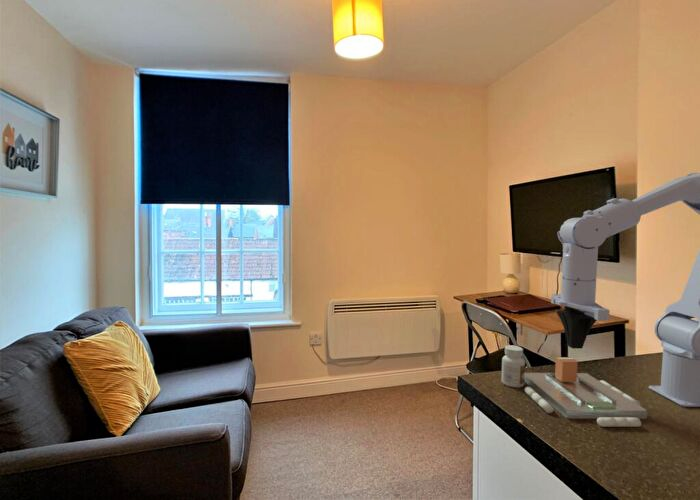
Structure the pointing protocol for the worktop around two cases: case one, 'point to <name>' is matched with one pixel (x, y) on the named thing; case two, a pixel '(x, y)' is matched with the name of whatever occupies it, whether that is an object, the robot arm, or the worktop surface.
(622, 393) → the cable near base
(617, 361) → the worktop surface
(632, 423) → the rod
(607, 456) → the worktop surface
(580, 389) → the breaker panel
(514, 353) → the pill bottle
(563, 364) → the lever
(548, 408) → the rod
